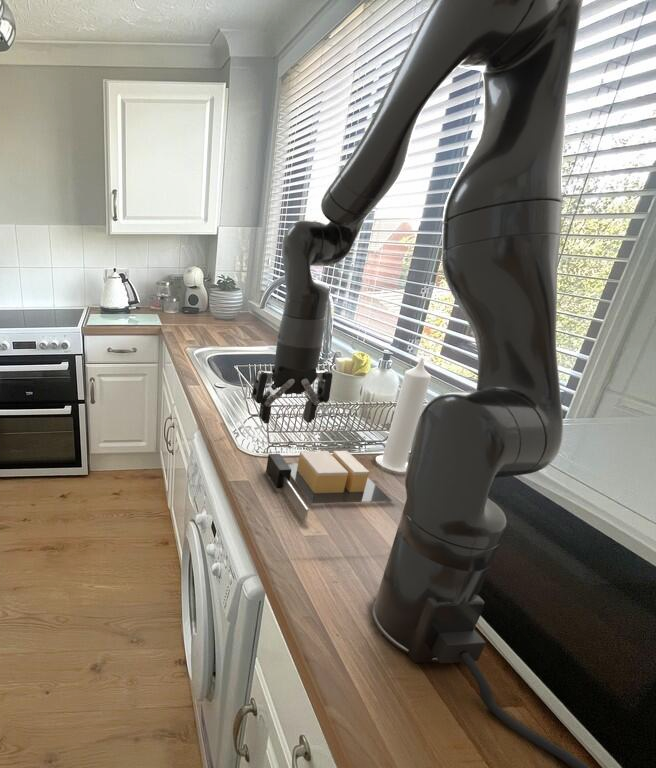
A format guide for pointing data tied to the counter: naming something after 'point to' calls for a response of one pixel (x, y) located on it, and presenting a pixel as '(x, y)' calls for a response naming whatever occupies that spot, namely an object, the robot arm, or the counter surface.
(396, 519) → the counter surface
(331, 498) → the board
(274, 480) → the knife
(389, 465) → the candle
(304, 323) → the robot arm
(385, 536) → the counter surface
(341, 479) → the tan rectangular block
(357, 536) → the counter surface
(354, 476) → the slice
